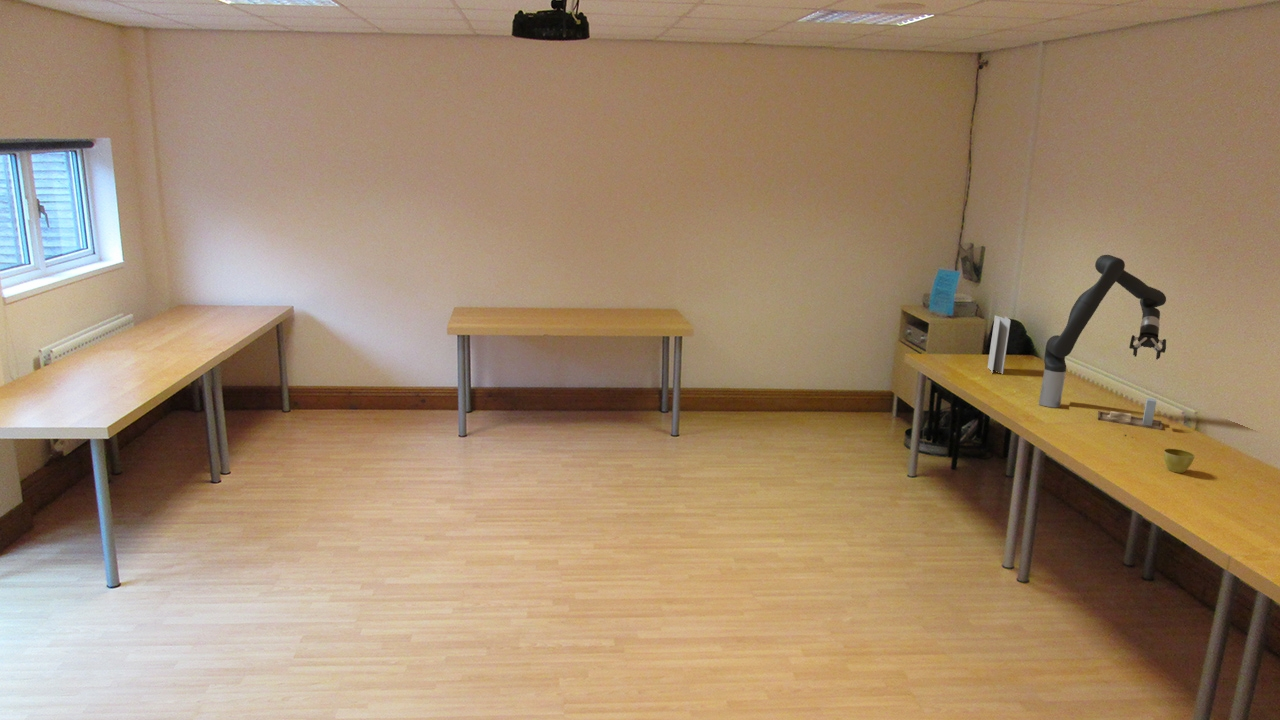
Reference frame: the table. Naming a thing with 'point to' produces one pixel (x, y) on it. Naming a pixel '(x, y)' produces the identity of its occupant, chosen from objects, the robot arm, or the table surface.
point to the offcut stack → (1119, 416)
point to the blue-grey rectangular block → (1149, 411)
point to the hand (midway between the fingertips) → (1146, 357)
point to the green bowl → (1178, 460)
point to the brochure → (999, 344)
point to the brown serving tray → (1134, 421)
